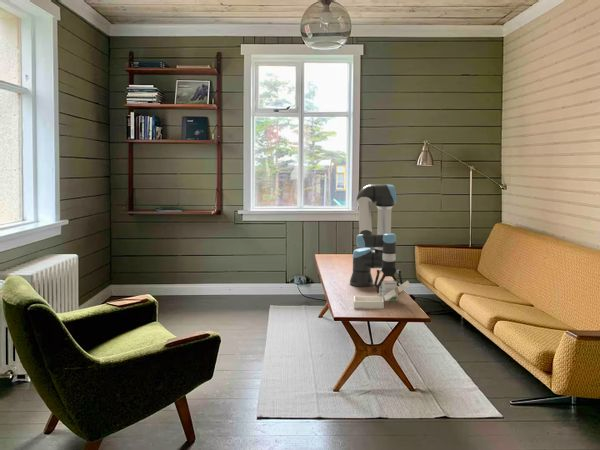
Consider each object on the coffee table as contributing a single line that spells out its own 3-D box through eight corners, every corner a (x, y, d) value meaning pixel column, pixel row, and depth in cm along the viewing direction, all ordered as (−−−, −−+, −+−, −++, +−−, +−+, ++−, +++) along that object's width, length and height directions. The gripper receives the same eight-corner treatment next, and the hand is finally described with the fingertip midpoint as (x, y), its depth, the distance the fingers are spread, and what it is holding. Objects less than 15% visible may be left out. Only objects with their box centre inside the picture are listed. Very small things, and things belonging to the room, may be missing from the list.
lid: (407, 280, 351) (408, 280, 351) (383, 295, 353) (384, 295, 353) (410, 285, 339) (410, 285, 339) (385, 300, 341) (385, 301, 341)
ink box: (393, 299, 364) (394, 279, 362) (396, 301, 359) (397, 281, 358) (379, 299, 362) (380, 279, 361) (382, 301, 357) (382, 281, 356)
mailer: (353, 302, 355) (353, 295, 355) (382, 303, 354) (382, 296, 354) (354, 308, 343) (354, 301, 342) (383, 308, 342) (383, 301, 341)
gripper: (370, 261, 355) (369, 299, 357) (409, 261, 353) (408, 300, 356) (369, 259, 362) (368, 296, 365) (407, 259, 361) (406, 297, 364)
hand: (388, 298), depth 361 cm, fingers closed on ink box, 9 cm apart
